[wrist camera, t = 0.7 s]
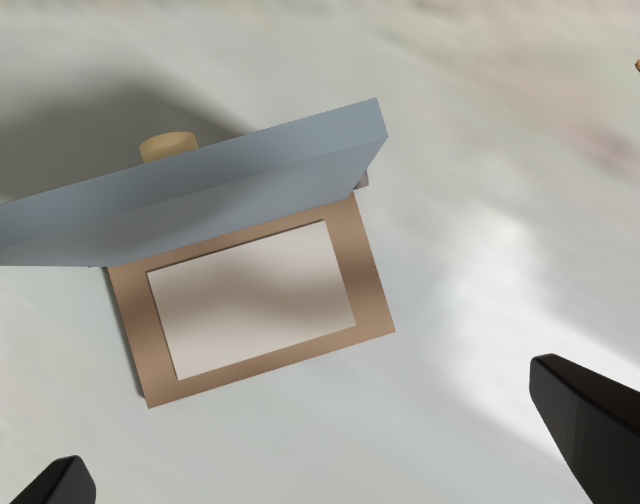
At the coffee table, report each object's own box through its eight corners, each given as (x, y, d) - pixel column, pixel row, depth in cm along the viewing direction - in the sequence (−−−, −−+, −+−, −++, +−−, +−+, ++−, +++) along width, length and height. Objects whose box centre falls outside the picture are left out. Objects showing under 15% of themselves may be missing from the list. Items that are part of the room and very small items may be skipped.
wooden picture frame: (406, 324, 27) (414, 328, 25) (138, 408, 26) (126, 418, 24) (357, 162, 27) (361, 154, 25) (89, 240, 26) (74, 238, 24)
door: (346, 198, 26) (388, 136, 14) (114, 266, 25) (-57, 264, 13) (335, 160, 26) (366, 64, 14) (103, 227, 25) (-78, 189, 13)
